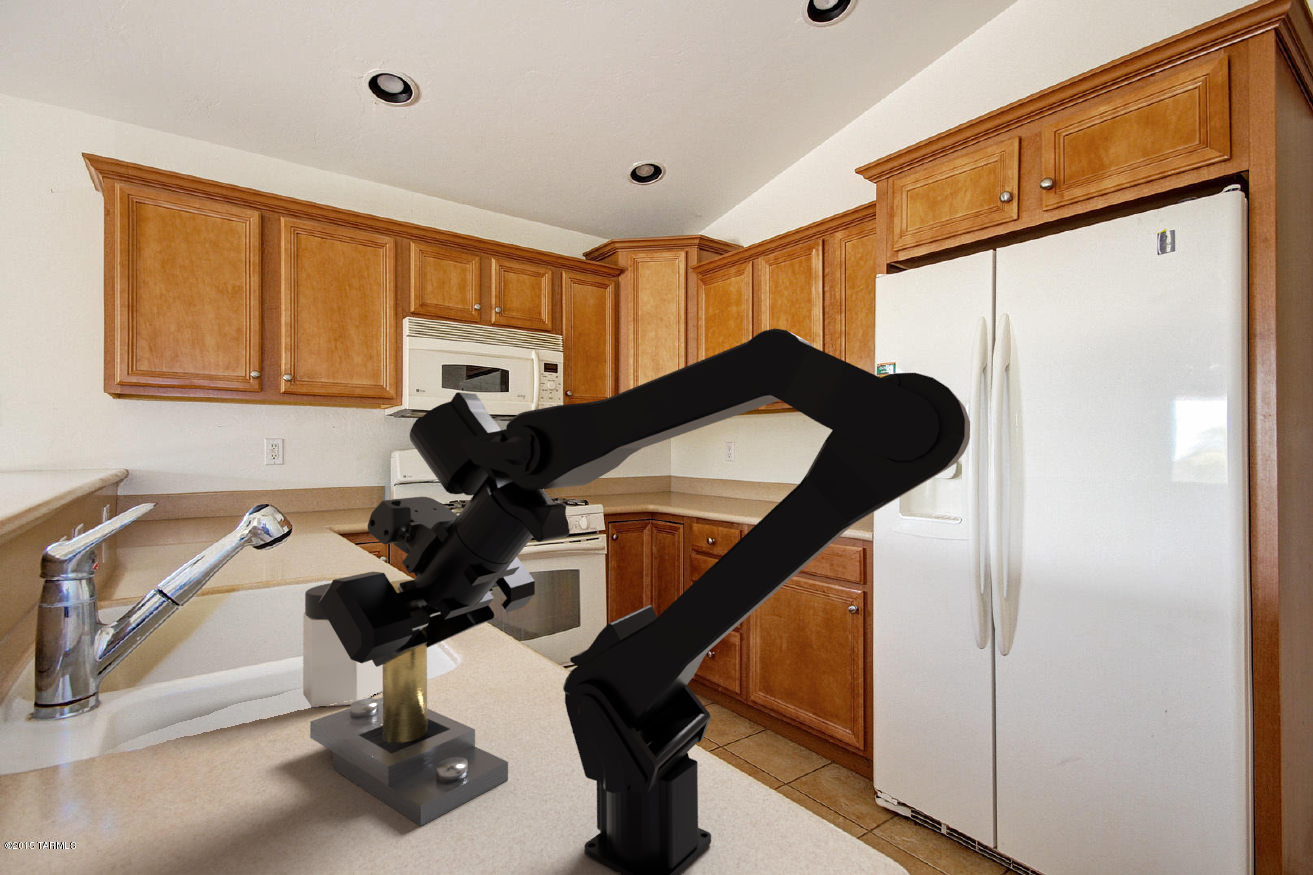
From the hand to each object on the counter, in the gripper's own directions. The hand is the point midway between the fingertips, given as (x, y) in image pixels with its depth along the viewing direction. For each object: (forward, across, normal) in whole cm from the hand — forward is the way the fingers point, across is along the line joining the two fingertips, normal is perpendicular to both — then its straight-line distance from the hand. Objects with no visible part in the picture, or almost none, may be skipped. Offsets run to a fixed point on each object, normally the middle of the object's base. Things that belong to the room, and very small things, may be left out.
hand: (394, 654), depth 55 cm
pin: (+4, 0, +6) cm, 7 cm away
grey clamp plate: (+6, 0, +8) cm, 10 cm away
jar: (+20, -8, -6) cm, 23 cm away
